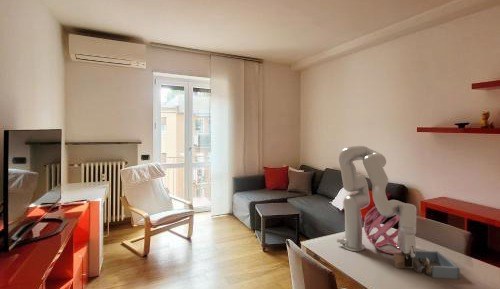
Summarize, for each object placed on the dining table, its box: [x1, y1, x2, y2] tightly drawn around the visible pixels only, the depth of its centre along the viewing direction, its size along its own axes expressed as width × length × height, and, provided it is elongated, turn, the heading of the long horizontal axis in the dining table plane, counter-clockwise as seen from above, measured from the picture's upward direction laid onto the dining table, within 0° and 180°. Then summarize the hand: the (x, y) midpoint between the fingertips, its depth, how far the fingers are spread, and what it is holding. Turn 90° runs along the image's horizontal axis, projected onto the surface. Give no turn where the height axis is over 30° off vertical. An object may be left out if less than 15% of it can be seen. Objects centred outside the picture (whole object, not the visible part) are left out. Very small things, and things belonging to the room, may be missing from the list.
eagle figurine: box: [414, 255, 432, 277], centre depth 129 cm, size 8×7×9 cm
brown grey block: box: [393, 254, 423, 273], centre depth 133 cm, size 10×11×6 cm
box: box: [414, 250, 461, 280], centre depth 131 cm, size 11×17×5 cm, turn 173°
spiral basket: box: [363, 205, 401, 255], centre depth 152 cm, size 28×28×27 cm
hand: (406, 264), depth 133 cm, fingers closed on brown grey block, 3 cm apart
